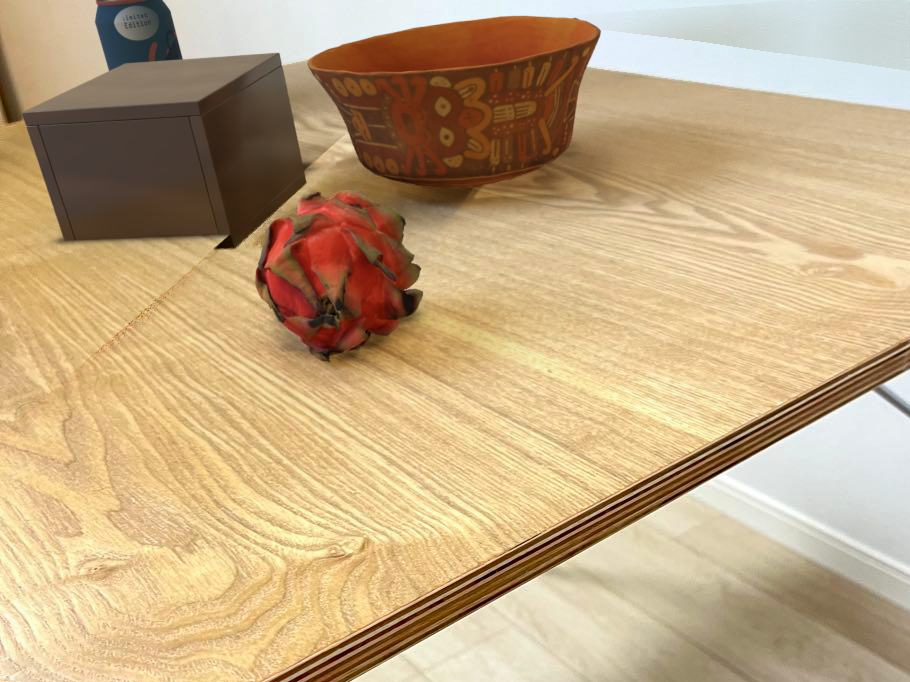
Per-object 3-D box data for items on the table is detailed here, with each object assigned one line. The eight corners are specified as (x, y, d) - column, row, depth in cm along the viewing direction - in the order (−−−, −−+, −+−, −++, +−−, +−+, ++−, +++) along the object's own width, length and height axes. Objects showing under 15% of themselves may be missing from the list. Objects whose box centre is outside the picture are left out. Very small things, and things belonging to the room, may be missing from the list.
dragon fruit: (378, 316, 70) (367, 432, 61) (246, 254, 67) (214, 367, 58) (443, 202, 66) (441, 310, 57) (305, 130, 62) (279, 232, 53)
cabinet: (160, 189, 94) (124, 63, 88) (307, 183, 91) (279, 52, 86) (68, 254, 82) (20, 112, 76) (234, 248, 79) (197, 101, 74)
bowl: (383, 145, 99) (362, 20, 93) (627, 133, 94) (620, 1, 89) (292, 226, 82) (260, 80, 76) (583, 218, 77) (571, 61, 72)
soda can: (188, 134, 109) (153, -3, 102) (117, 141, 109) (77, 5, 103) (206, 116, 115) (174, -15, 108) (139, 123, 115) (103, -7, 109)
